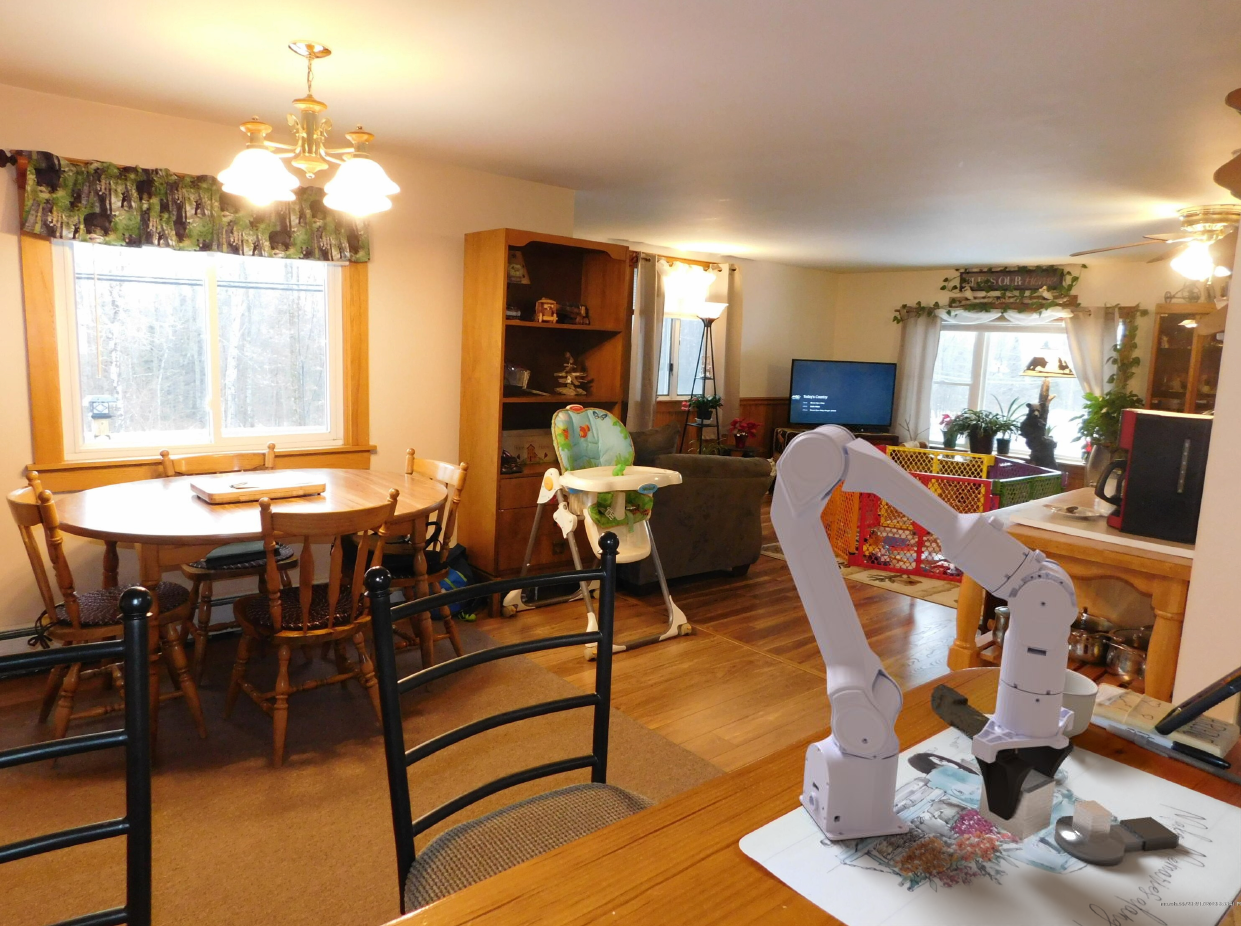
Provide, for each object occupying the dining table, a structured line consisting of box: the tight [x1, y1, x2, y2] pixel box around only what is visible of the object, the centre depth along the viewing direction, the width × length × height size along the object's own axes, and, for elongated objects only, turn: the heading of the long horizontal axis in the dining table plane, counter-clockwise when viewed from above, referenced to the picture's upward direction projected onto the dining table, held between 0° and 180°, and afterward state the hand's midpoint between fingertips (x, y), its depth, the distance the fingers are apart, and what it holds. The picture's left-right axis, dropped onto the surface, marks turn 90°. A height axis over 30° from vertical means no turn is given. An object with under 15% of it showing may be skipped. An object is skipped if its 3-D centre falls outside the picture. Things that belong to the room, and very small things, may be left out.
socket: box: [978, 769, 1056, 841], centre depth 81 cm, size 5×5×5 cm
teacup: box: [1061, 668, 1100, 739], centre depth 109 cm, size 14×11×8 cm
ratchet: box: [1053, 800, 1180, 868], centre depth 85 cm, size 13×6×5 cm, turn 102°
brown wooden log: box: [930, 683, 1018, 753], centre depth 108 cm, size 19×4×5 cm, turn 14°
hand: (1015, 807), depth 81 cm, fingers closed on socket, 5 cm apart
